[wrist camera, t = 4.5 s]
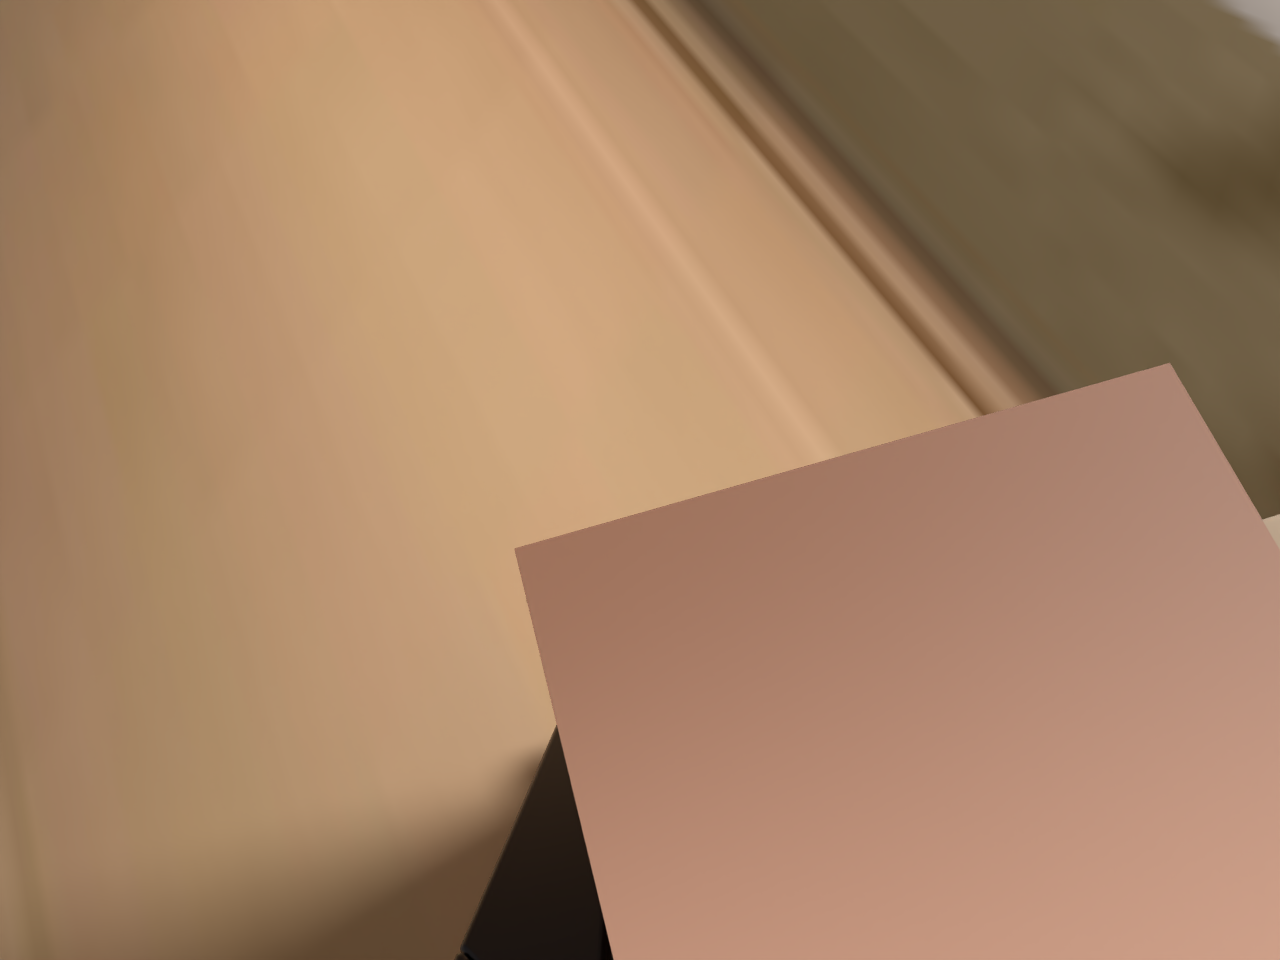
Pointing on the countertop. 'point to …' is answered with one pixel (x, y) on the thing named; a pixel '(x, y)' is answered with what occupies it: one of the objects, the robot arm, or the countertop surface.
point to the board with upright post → (934, 698)
